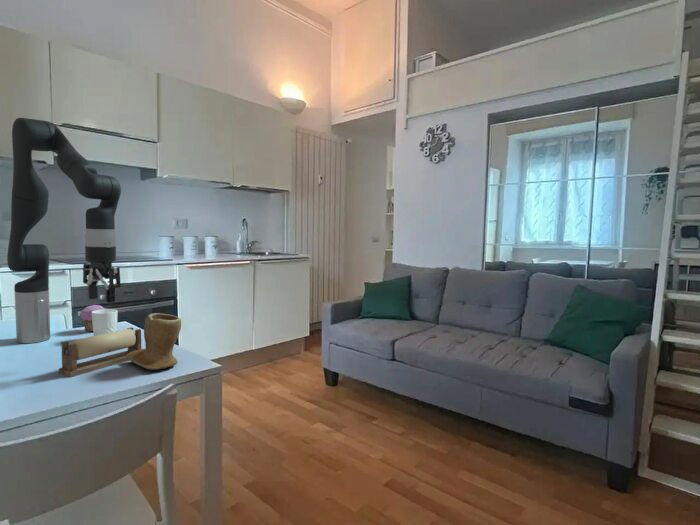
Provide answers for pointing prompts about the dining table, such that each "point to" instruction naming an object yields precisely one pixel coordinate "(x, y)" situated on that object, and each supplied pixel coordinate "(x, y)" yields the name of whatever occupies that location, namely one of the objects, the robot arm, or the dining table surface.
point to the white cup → (104, 321)
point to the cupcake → (89, 316)
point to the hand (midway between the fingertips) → (101, 300)
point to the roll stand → (75, 369)
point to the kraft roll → (103, 343)
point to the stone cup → (157, 342)
